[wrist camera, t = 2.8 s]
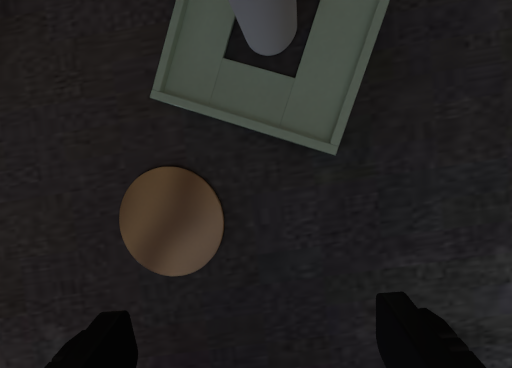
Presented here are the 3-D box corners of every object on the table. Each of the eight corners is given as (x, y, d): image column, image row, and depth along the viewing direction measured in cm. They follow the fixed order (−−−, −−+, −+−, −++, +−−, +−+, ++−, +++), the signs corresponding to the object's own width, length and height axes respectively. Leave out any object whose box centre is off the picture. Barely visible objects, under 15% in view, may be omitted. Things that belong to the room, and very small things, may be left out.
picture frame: (156, 100, 28) (149, 97, 27) (208, -93, 26) (203, -105, 25) (334, 155, 26) (335, 155, 24) (406, -52, 24) (411, -63, 22)
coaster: (110, 252, 30) (107, 253, 29) (137, 152, 29) (134, 152, 28) (205, 290, 28) (204, 292, 28) (238, 187, 27) (237, 187, 27)
